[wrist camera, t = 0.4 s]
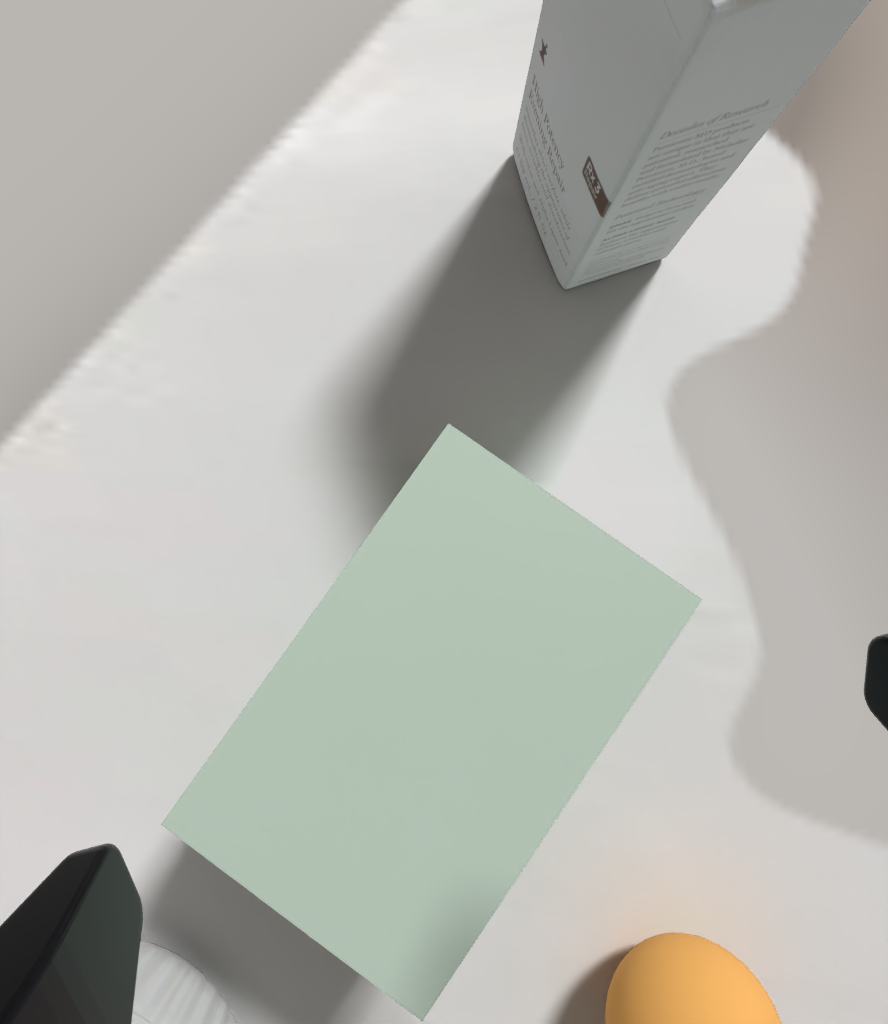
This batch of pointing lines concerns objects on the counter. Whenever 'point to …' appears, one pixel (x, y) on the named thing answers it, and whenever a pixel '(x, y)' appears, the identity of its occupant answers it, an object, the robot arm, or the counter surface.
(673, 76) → the skincare box
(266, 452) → the counter surface
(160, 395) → the counter surface
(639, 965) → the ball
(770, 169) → the counter surface
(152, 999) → the ramekin
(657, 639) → the sage green rectangular block
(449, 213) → the counter surface
